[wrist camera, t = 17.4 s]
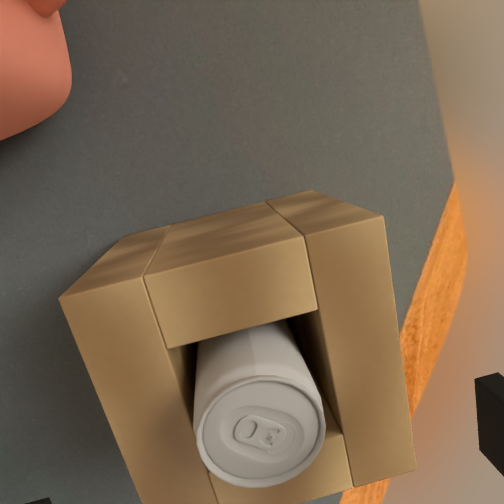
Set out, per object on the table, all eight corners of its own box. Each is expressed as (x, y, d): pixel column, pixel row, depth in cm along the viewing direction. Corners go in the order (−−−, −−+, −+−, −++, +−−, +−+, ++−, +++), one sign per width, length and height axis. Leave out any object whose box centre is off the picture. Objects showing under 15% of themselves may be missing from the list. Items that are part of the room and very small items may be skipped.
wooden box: (311, 189, 23) (384, 215, 13) (341, 354, 26) (417, 470, 17) (122, 236, 22) (56, 298, 13) (177, 398, 26) (158, 545, 16)
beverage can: (253, 345, 25) (291, 506, 14) (188, 319, 24) (169, 470, 13) (285, 284, 24) (354, 401, 13) (219, 255, 23) (229, 354, 12)
